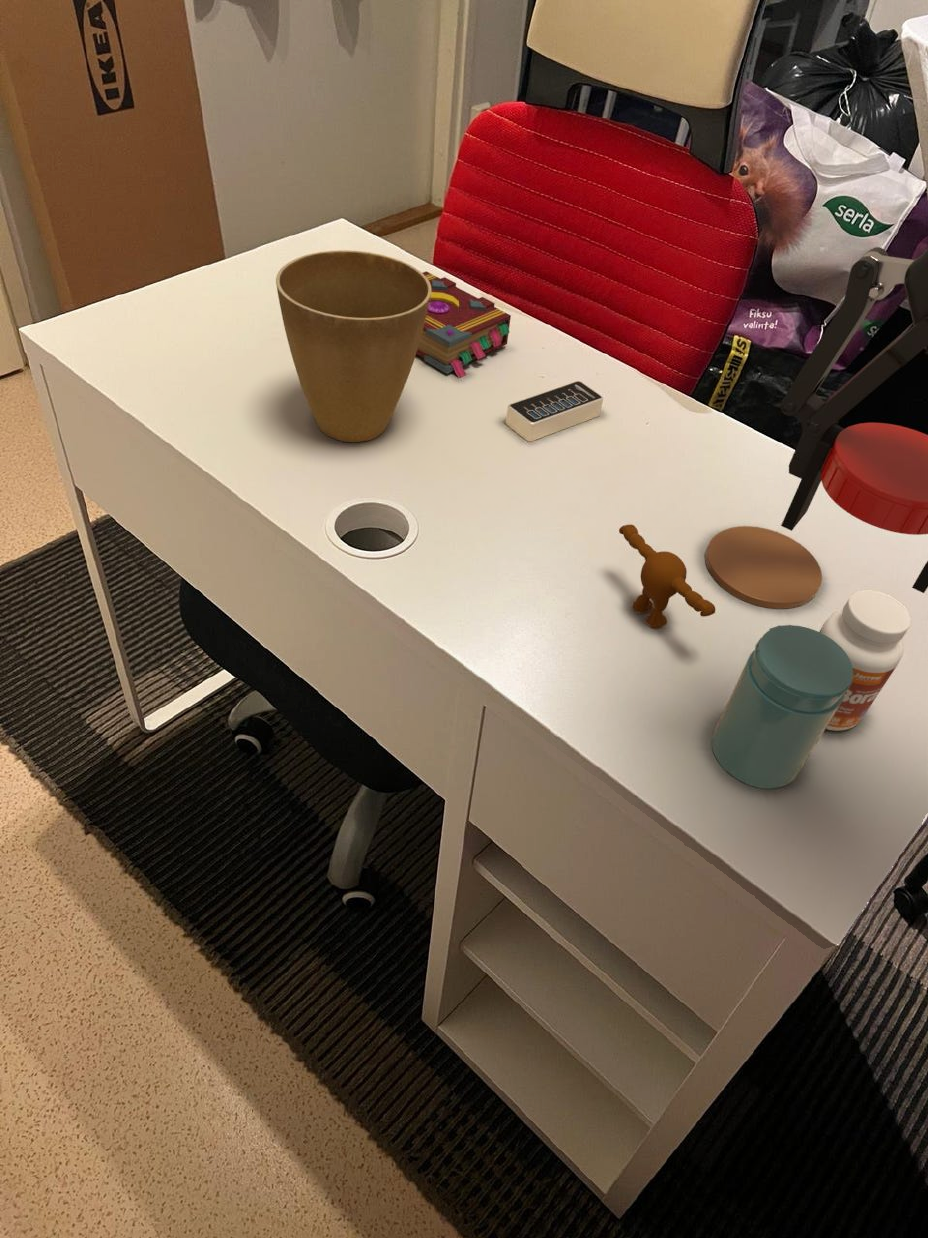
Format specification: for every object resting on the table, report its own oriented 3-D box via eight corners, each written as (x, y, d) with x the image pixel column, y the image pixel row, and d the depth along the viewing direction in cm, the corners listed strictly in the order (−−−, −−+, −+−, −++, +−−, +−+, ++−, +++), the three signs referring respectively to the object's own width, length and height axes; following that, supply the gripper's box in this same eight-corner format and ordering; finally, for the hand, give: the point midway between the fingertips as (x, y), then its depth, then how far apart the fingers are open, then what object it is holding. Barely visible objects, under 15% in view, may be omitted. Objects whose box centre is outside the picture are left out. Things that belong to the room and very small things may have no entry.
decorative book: (424, 301, 119) (427, 264, 116) (515, 351, 112) (521, 313, 109) (360, 326, 113) (361, 288, 110) (452, 380, 106) (456, 341, 103)
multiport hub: (503, 422, 101) (506, 404, 99) (575, 396, 106) (579, 379, 104) (528, 442, 99) (532, 424, 97) (601, 415, 104) (605, 397, 102)
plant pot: (394, 477, 92) (400, 332, 81) (260, 442, 94) (248, 295, 83) (439, 405, 102) (451, 267, 91) (318, 374, 104) (314, 236, 93)
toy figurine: (708, 653, 78) (732, 597, 74) (675, 666, 77) (697, 609, 72) (627, 567, 85) (644, 511, 81) (595, 578, 84) (610, 521, 79)
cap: (906, 448, 58) (922, 418, 57) (984, 529, 53) (1005, 498, 51) (795, 457, 56) (808, 425, 55) (865, 541, 51) (882, 509, 49)
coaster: (842, 594, 86) (846, 588, 85) (749, 620, 82) (752, 613, 81) (772, 523, 92) (775, 517, 92) (683, 544, 89) (685, 537, 88)
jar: (818, 772, 70) (877, 680, 63) (747, 800, 68) (799, 708, 60) (762, 706, 75) (811, 613, 67) (694, 731, 72) (736, 636, 64)
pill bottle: (819, 742, 72) (876, 649, 65) (772, 686, 76) (821, 592, 68) (877, 721, 75) (939, 629, 67) (829, 668, 78) (882, 575, 71)
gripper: (813, 129, 43) (686, 505, 59) (1311, 276, 35) (1009, 661, 52) (864, 100, 48) (733, 456, 64) (1315, 224, 40) (1037, 593, 56)
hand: (857, 547), depth 58 cm, fingers closed on cap, 8 cm apart
